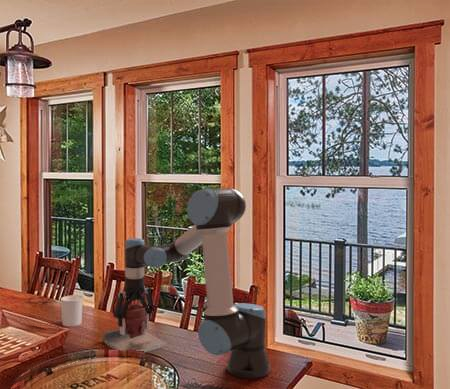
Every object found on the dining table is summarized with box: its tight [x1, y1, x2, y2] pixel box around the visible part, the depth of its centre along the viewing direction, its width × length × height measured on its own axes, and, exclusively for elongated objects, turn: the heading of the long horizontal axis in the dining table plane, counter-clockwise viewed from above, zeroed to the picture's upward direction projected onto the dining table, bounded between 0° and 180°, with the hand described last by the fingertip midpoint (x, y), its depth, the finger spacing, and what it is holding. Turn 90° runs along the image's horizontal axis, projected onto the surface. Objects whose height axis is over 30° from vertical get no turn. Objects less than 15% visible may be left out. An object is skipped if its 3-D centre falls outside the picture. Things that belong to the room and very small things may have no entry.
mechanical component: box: [123, 303, 147, 338], centre depth 180 cm, size 12×10×10 cm
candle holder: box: [60, 294, 84, 327], centre depth 204 cm, size 10×10×12 cm
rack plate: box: [102, 323, 167, 353], centre depth 180 cm, size 20×18×4 cm
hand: (134, 331), depth 180 cm, fingers closed on mechanical component, 10 cm apart
